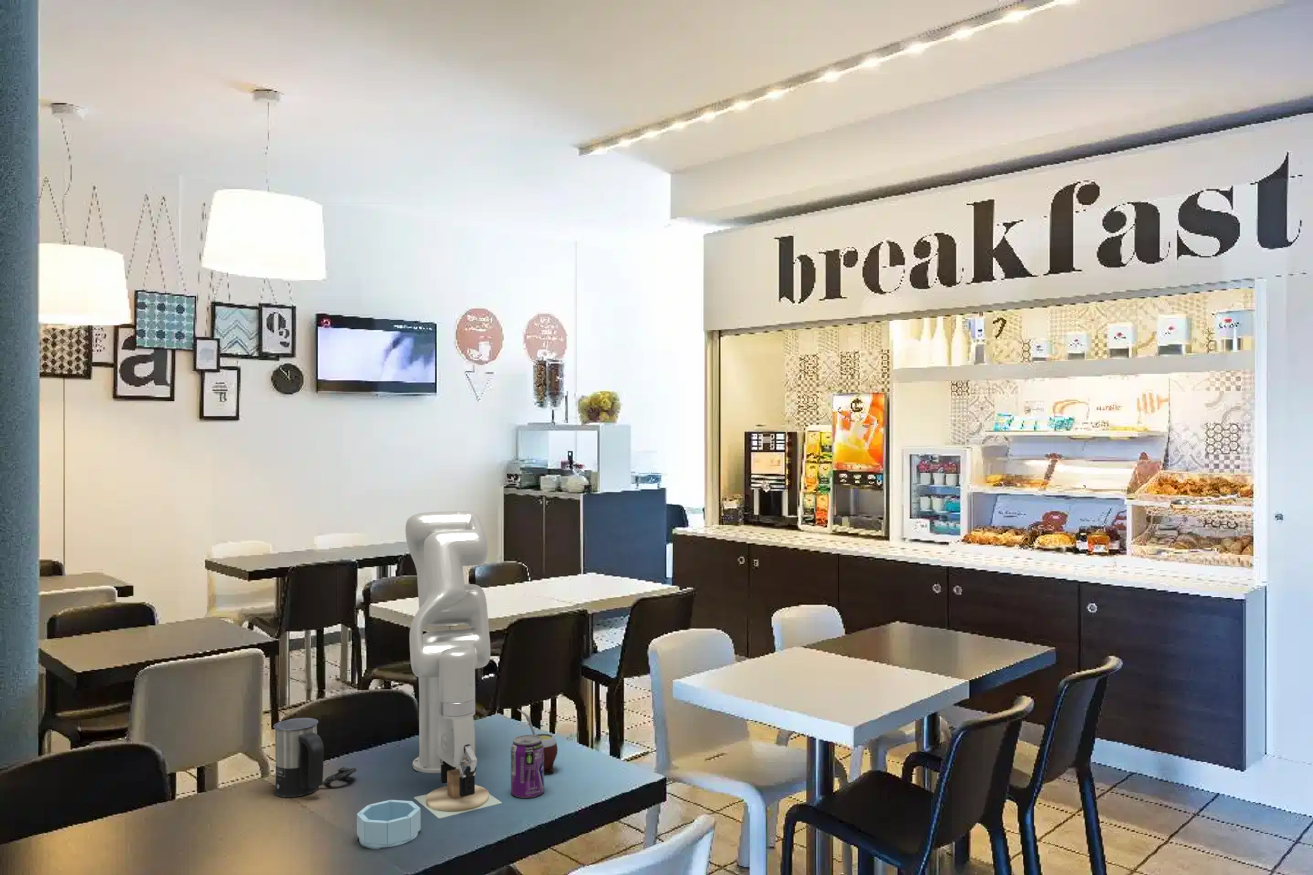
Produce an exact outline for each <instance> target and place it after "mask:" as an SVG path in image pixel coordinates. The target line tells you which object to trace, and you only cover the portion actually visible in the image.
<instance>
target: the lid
mask: <svg viewBox="0 0 1313 875" xmlns="http://www.w3.org/2000/svg"><path fill="white" fill-rule="evenodd" d="M459 777H461V774H460V770H459V769H455V770H450V771H447V783H446V785H445V786H441V787H439V788H436V789H433V790H432V791H431V792H428V793H427V794H428V795H427V796H426V805H427V806H428V807H429V808H431V809H433V810H436V811H442V812H459V811H466V810H471V809H474V808H477V807H479V806H482V805H483V804H485V803H486V802H487V801H488V799H489V794H490V793H489V790H488V789H487V788H485V787H483V786H481V785H477V784H476V785H475V793H474V794H473V795H469V796H464V797H461V796H460V795H459Z"/></svg>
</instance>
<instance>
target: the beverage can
mask: <svg viewBox="0 0 1313 875" xmlns="http://www.w3.org/2000/svg"><path fill="white" fill-rule="evenodd" d="M541 741H542V738H541V737H540V736H537V735H533V734H523V735H518V736H516V737H514V738H513V739H512V745H511V747H510V793H511V795H513V796H515V797H517V798H521V799H528V798H531V799H532V798H535V797H538V796H539V795H542V794H543V793H544V792H545V773H544V746H543V744H542V742H541Z"/></svg>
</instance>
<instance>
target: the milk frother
mask: <svg viewBox="0 0 1313 875" xmlns="http://www.w3.org/2000/svg"><path fill="white" fill-rule="evenodd" d="M318 723H319V720H318V719H316V718H312V717H298V718H289V719H285V720H282V721H279V722H277V723H274V725H273V729H274V741H275V742H274V747H275V748H274V749H275V751H274V753H275V754H274V758H275V787H274V788H275V789H274V791H273V792H274V795H275V796H277V797H281V798H297V797H301V796H302V797H303V796H306V795H310V794H312V793H315V792H316V791H318V790H319V787H321V786H324V785H326V784H329V783H331V782H335V781H337V780H340V781H343V780H345V779H347V778H348V777H349V776H351V775H352V774H354V773H355V772H357V768H356V767H353V768H348V767H344V766H343V767H340V768H338V769H337V771H336V773H334V774H331V775H329V776H327V777H326V778H325V779H324V760H325V759H324V758H325V757H324V756H325V749H324V742H323V740H322V738H321V736H320V735H319V734H318V727H317V726H318Z"/></svg>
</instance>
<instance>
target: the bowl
mask: <svg viewBox="0 0 1313 875" xmlns="http://www.w3.org/2000/svg"><path fill="white" fill-rule="evenodd" d="M421 826H422V825H421V807H420V806H419V805H417V804H416V803H415V802H414V801H412V800H398V799H389V800H383V801H381V802H380V801H379V802H375V803H371V804H368V805H366V806H365V807H363V808H362V809H361V810H360V811H359V812H357V813H356V836H357V837H358V838H359V839H358V840H359V841H358V843H359V844H360V845H361V846H362V847H364V848H367V849H372V850H381V848H390V847H391V848H393V847H396V846H401V845H404V844H407V843H409V842H411V841H413V840H414V839H415V838H417V837H418V835H419V831H420V830H421V829H422V827H421Z"/></svg>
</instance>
